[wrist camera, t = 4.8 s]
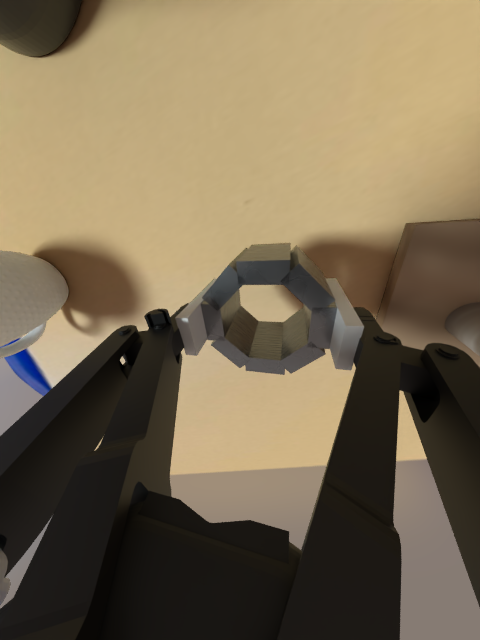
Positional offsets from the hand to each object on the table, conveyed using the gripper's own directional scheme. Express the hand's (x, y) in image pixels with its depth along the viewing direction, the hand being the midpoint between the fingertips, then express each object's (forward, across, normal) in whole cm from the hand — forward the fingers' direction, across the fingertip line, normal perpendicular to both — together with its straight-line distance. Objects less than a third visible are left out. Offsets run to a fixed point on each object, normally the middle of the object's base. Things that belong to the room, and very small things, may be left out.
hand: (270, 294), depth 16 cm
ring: (0, 0, 0) cm, 0 cm away
